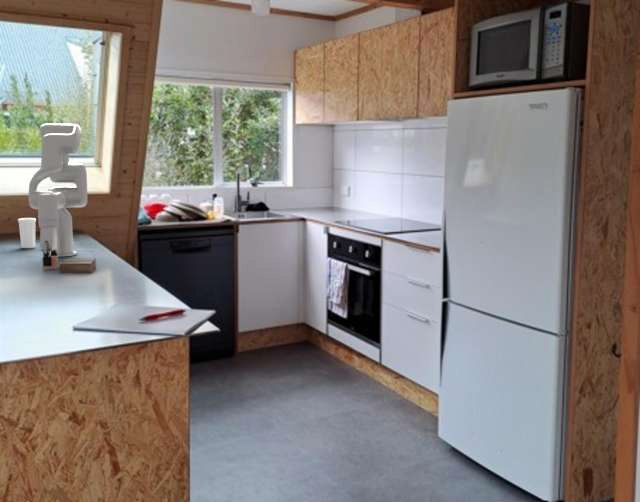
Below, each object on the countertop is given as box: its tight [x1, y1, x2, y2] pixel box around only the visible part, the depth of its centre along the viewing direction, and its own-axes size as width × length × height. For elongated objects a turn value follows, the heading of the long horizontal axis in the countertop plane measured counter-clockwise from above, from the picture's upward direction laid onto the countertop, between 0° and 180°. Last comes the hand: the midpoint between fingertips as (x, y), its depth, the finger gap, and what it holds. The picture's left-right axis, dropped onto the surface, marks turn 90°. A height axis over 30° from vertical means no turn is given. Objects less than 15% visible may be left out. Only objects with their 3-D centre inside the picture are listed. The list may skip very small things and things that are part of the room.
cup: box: [17, 217, 37, 249], centre depth 322 cm, size 8×8×14 cm
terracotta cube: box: [41, 256, 59, 271], centre depth 276 cm, size 5×5×5 cm
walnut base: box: [58, 257, 97, 274], centre depth 273 cm, size 12×12×4 cm
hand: (50, 263), depth 276 cm, fingers open, 9 cm apart
